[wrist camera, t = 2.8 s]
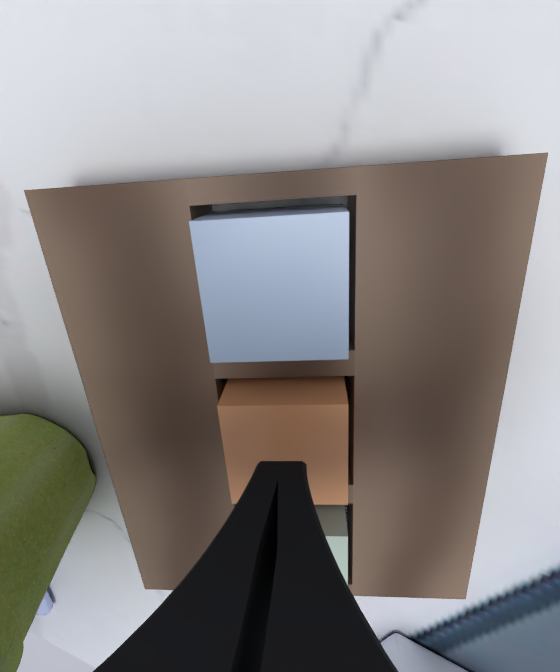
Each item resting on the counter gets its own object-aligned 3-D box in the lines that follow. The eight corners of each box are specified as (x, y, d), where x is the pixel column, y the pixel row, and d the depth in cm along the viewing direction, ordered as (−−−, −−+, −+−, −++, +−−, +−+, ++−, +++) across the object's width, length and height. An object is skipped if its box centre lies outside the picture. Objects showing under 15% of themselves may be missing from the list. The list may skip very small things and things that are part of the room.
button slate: (227, 331, 13) (210, 362, 11) (211, 211, 12) (188, 221, 10) (342, 327, 13) (348, 359, 11) (341, 203, 12) (349, 211, 9)
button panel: (164, 540, 20) (144, 589, 18) (73, 186, 13) (23, 190, 11) (446, 546, 18) (465, 599, 16) (502, 156, 12) (547, 152, 10)
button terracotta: (243, 456, 16) (231, 503, 13) (231, 369, 14) (217, 406, 12) (342, 456, 15) (348, 504, 13) (342, 366, 14) (348, 404, 11)
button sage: (255, 552, 18) (247, 605, 16) (246, 485, 16) (236, 534, 14) (342, 554, 17) (347, 609, 15) (342, 485, 16) (347, 536, 14)
